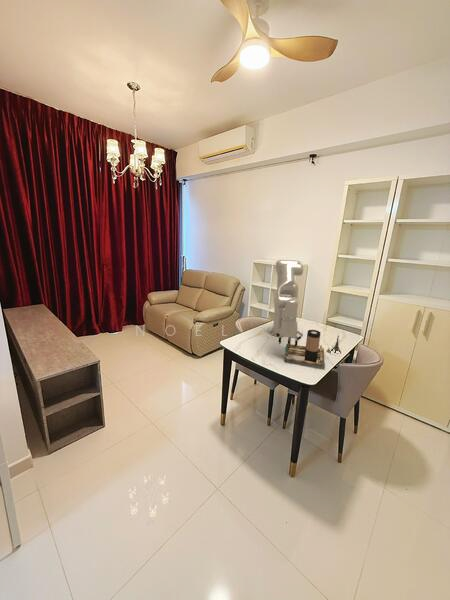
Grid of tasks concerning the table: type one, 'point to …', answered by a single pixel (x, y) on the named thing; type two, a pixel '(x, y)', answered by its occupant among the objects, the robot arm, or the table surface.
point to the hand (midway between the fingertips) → (287, 344)
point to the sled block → (300, 347)
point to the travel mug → (312, 345)
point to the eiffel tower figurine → (335, 347)
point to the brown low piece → (301, 356)
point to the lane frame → (309, 364)
